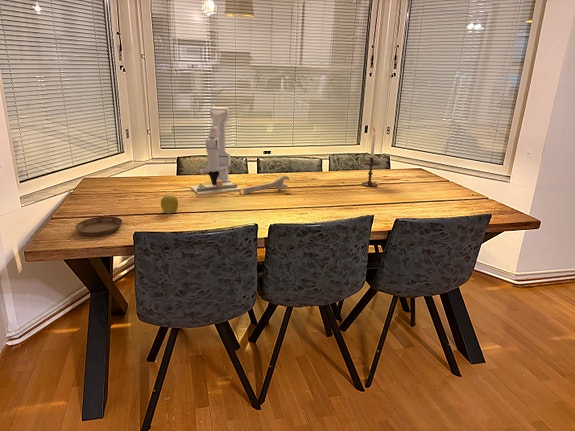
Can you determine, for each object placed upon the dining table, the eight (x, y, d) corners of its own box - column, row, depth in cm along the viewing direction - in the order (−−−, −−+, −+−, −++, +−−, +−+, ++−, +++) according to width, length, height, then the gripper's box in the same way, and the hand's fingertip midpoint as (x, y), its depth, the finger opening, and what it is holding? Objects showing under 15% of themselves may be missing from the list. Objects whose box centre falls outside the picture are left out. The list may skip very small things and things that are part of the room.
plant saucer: (87, 242, 154) (86, 234, 153) (69, 230, 165) (68, 223, 164) (131, 230, 167) (130, 223, 166) (111, 220, 178) (110, 213, 177)
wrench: (239, 198, 223) (289, 187, 233) (240, 199, 221) (290, 188, 231) (238, 184, 220) (288, 174, 230) (239, 185, 218) (289, 175, 228)
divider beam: (192, 188, 228) (192, 184, 227) (230, 184, 238) (230, 180, 237) (197, 193, 219) (197, 189, 218) (237, 189, 230) (237, 184, 229)
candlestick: (358, 186, 242) (363, 127, 231) (362, 182, 252) (367, 125, 240) (376, 188, 238) (382, 128, 227) (379, 184, 248) (385, 126, 236)
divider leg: (211, 184, 232) (210, 177, 231) (216, 183, 233) (215, 176, 232) (217, 189, 223) (217, 181, 221) (222, 188, 224) (222, 181, 223)
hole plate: (190, 187, 230) (190, 186, 229) (230, 183, 240) (230, 181, 240) (198, 195, 216) (198, 193, 216) (240, 190, 227) (240, 188, 227)
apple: (171, 214, 183) (165, 193, 181) (160, 216, 187) (154, 195, 186) (184, 209, 189) (178, 189, 188) (173, 211, 194) (167, 191, 192)
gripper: (202, 163, 212) (203, 188, 216) (228, 161, 219) (228, 185, 223) (198, 160, 218) (199, 184, 222) (223, 158, 224) (224, 182, 229)
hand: (213, 184), depth 223 cm, fingers closed
